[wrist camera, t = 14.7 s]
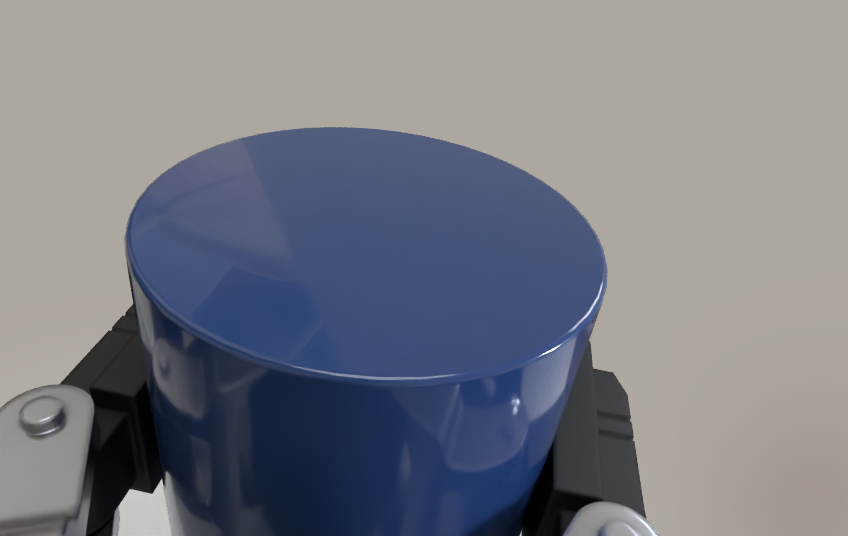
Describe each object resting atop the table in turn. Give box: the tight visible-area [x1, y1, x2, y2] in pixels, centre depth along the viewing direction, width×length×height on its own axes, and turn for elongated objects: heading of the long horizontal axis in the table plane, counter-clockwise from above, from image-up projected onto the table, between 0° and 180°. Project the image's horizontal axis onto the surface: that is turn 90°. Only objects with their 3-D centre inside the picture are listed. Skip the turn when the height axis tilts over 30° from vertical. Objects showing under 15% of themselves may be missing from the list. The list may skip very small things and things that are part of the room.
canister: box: [124, 127, 607, 536], centre depth 11 cm, size 6×6×10 cm
